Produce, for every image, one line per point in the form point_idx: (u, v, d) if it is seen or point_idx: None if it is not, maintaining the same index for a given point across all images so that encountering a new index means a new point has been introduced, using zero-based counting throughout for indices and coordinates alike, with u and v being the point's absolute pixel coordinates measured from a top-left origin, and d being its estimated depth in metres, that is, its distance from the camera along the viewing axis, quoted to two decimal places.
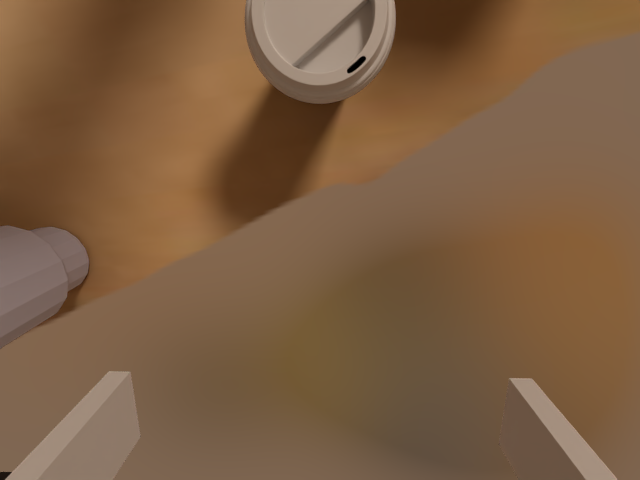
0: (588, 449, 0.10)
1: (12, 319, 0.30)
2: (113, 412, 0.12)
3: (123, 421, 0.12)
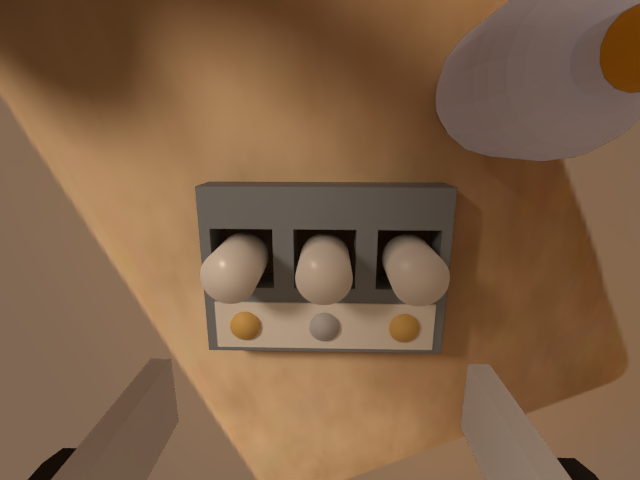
0: (530, 426, 0.10)
1: None
2: (158, 396, 0.12)
3: (165, 405, 0.13)
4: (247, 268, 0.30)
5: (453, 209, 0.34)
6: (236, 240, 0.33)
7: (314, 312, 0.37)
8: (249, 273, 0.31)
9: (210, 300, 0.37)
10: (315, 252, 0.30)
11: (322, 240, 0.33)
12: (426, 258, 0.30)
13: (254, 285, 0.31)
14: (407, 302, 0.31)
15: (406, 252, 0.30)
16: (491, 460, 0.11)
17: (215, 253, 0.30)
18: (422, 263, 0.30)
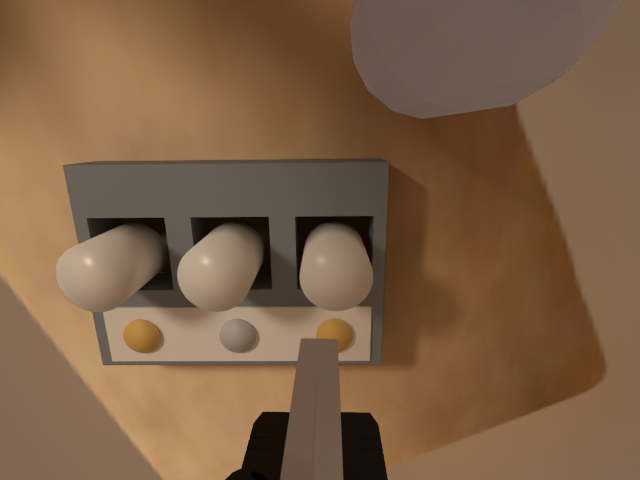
0: (339, 386, 0.12)
1: None
2: None
3: None
4: (115, 267, 0.24)
5: (386, 189, 0.27)
6: (113, 232, 0.26)
7: (224, 318, 0.30)
8: (118, 273, 0.24)
9: None
10: (200, 245, 0.23)
11: (221, 230, 0.27)
12: (341, 250, 0.23)
13: (127, 288, 0.24)
14: (322, 306, 0.24)
15: (318, 243, 0.24)
16: None
17: (72, 248, 0.23)
18: (337, 256, 0.23)
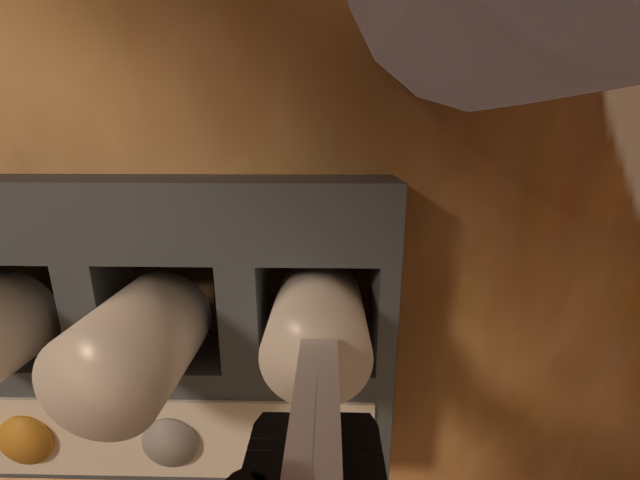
0: (339, 386, 0.12)
1: None
2: None
3: None
4: None
5: (401, 227, 0.17)
6: None
7: None
8: None
9: None
10: (68, 334, 0.13)
11: (131, 292, 0.16)
12: (324, 320, 0.15)
13: None
14: None
15: (288, 306, 0.15)
16: None
17: None
18: (317, 329, 0.15)
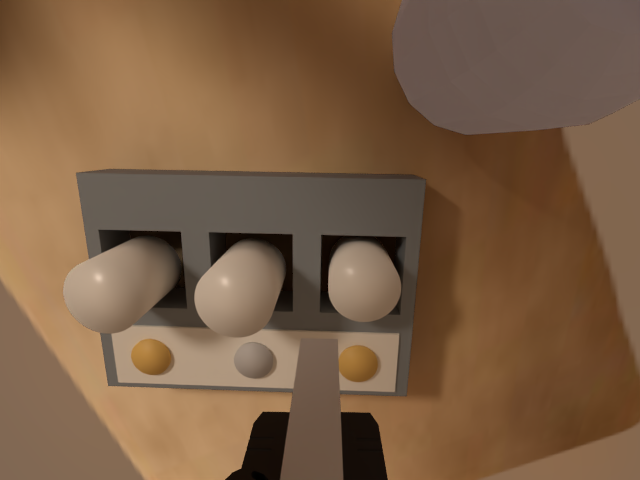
0: (339, 386, 0.12)
1: None
2: None
3: None
4: (127, 285, 0.22)
5: (420, 208, 0.25)
6: (126, 246, 0.24)
7: (240, 341, 0.28)
8: (131, 292, 0.22)
9: None
10: (221, 265, 0.21)
11: (242, 247, 0.25)
12: (371, 262, 0.24)
13: (139, 309, 0.22)
14: (349, 316, 0.25)
15: (347, 254, 0.24)
16: None
17: (82, 264, 0.22)
18: (366, 268, 0.24)
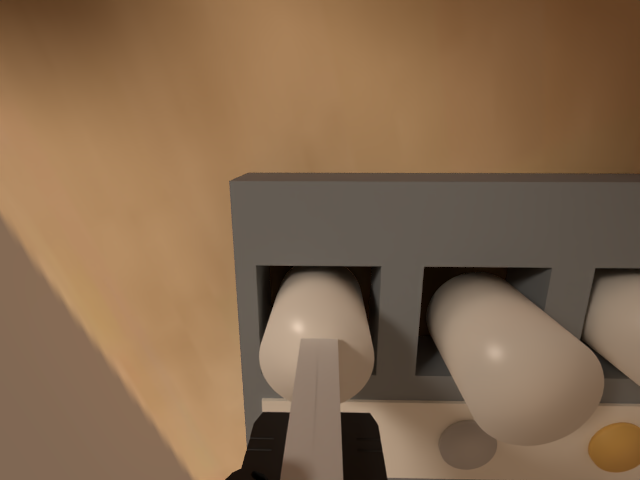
0: (339, 386, 0.12)
1: None
2: None
3: None
4: (356, 342, 0.15)
5: None
6: (319, 278, 0.18)
7: (450, 419, 0.19)
8: (359, 351, 0.15)
9: (253, 396, 0.20)
10: (526, 335, 0.13)
11: (497, 293, 0.16)
12: None
13: (367, 373, 0.15)
14: None
15: None
16: None
17: (292, 312, 0.15)
18: None
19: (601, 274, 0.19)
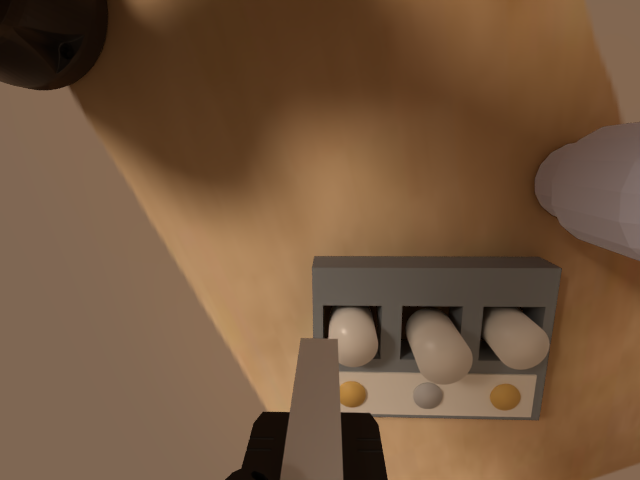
0: (339, 386, 0.12)
1: None
2: None
3: None
4: (370, 337, 0.35)
5: (557, 287, 0.36)
6: (352, 308, 0.38)
7: (418, 381, 0.38)
8: (371, 341, 0.35)
9: None
10: (439, 337, 0.32)
11: (434, 319, 0.35)
12: (529, 329, 0.34)
13: (375, 351, 0.35)
14: (510, 366, 0.35)
15: (509, 322, 0.35)
16: None
17: (343, 324, 0.35)
18: (525, 333, 0.34)
19: (492, 308, 0.38)
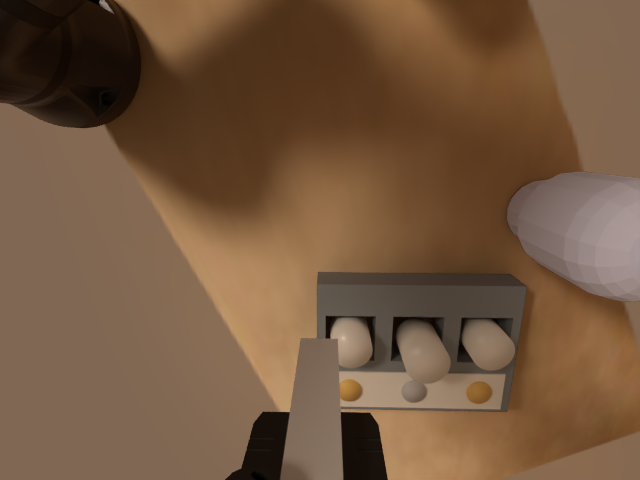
0: (339, 386, 0.12)
1: None
2: None
3: None
4: (366, 343, 0.41)
5: (523, 302, 0.42)
6: (350, 318, 0.44)
7: (406, 380, 0.45)
8: (367, 347, 0.42)
9: None
10: (423, 345, 0.38)
11: (420, 328, 0.42)
12: (498, 337, 0.41)
13: (370, 355, 0.42)
14: (482, 367, 0.42)
15: (482, 331, 0.42)
16: None
17: (343, 333, 0.41)
18: (495, 340, 0.41)
19: (470, 318, 0.45)
